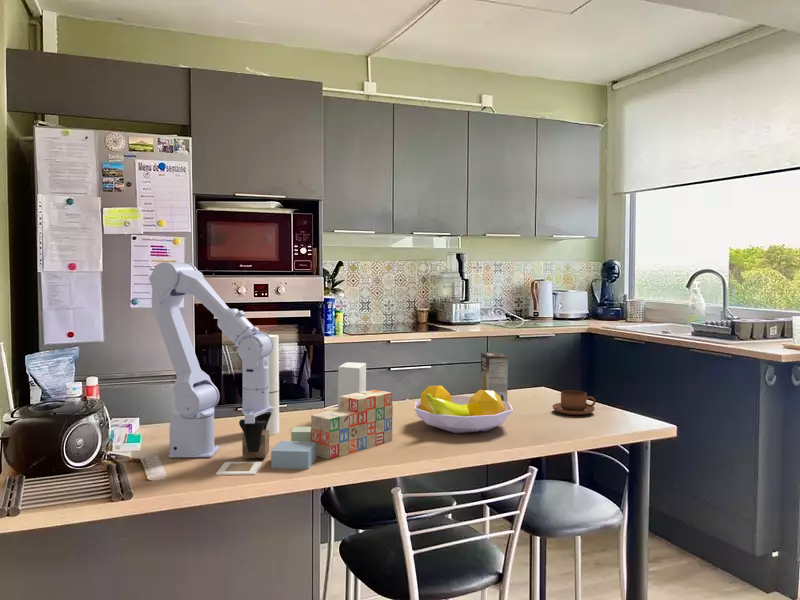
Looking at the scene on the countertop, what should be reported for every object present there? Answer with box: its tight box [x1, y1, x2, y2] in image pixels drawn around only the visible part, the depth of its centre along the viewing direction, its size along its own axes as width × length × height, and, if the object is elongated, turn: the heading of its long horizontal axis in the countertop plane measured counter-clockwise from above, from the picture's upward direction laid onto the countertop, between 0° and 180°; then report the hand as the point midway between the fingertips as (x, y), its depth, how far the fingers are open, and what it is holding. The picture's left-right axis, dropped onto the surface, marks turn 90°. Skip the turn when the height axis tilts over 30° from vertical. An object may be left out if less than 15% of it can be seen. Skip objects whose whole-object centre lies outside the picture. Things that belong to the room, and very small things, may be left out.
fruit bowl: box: [413, 385, 514, 434], centre depth 174 cm, size 28×27×11 cm
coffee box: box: [480, 351, 509, 403], centre depth 201 cm, size 9×6×16 cm
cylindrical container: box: [266, 334, 280, 436], centre depth 168 cm, size 7×7×25 cm
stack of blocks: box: [310, 389, 394, 460], centre depth 154 cm, size 21×6×12 cm, turn 139°
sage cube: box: [290, 426, 311, 442], centre depth 152 cm, size 5×5×5 cm
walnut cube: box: [241, 430, 270, 459], centre depth 145 cm, size 5×5×5 cm
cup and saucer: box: [552, 389, 597, 416], centre depth 192 cm, size 12×12×6 cm
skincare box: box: [337, 361, 367, 409], centre depth 183 cm, size 8×7×16 cm
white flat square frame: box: [215, 461, 263, 476], centre depth 138 cm, size 8×8×1 cm
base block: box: [270, 440, 317, 470], centre depth 142 cm, size 8×8×4 cm
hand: (256, 448), depth 146 cm, fingers closed on walnut cube, 5 cm apart
